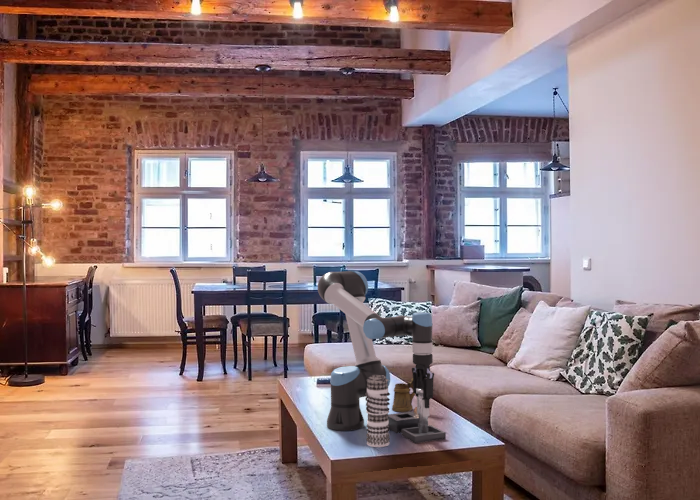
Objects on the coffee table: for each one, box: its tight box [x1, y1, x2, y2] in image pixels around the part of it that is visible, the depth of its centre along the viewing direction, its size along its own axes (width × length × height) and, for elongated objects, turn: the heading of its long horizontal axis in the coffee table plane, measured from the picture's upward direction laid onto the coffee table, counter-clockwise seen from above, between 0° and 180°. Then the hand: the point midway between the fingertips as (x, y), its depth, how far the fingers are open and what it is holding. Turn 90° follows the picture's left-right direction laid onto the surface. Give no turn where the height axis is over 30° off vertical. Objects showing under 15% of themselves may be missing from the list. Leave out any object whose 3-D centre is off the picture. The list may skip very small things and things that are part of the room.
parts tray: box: [401, 424, 447, 444], centre depth 247 cm, size 13×11×2 cm
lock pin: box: [416, 388, 429, 433], centre depth 247 cm, size 5×5×16 cm
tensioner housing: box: [388, 406, 419, 434], centre depth 260 cm, size 15×10×8 cm
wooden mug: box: [391, 376, 416, 413], centre depth 290 cm, size 9×14×18 cm, turn 96°
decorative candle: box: [364, 375, 391, 448], centre depth 240 cm, size 9×9×25 cm
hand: (423, 414), depth 247 cm, fingers closed on lock pin, 3 cm apart
